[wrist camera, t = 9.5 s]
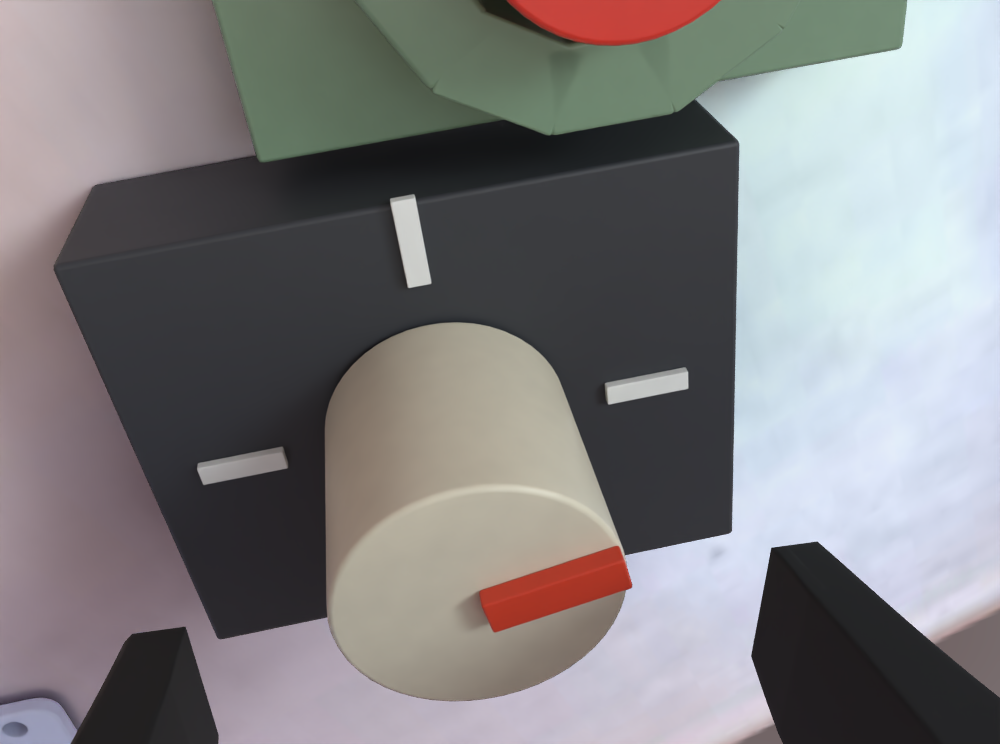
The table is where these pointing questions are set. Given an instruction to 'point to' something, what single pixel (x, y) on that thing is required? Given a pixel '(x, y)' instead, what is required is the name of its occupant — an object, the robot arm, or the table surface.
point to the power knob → (463, 518)
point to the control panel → (411, 323)
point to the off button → (612, 18)
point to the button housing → (503, 65)
